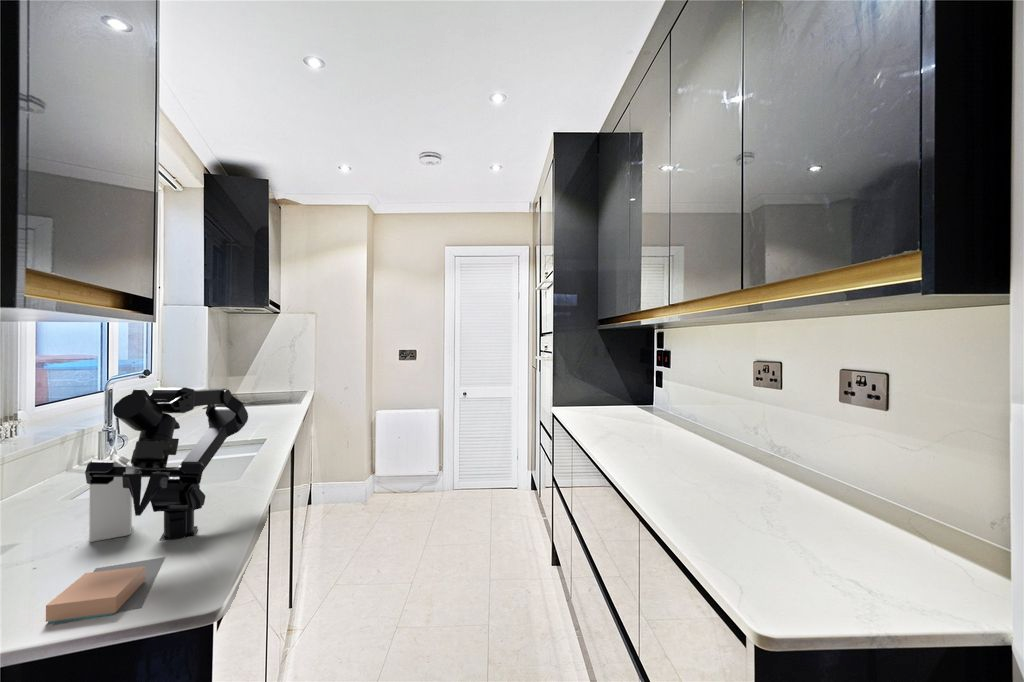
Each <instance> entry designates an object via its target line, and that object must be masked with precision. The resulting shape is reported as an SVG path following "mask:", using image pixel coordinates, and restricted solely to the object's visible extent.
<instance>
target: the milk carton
mask: <svg viewBox="0 0 1024 682" xmlns="http://www.w3.org/2000/svg"><path fill="white" fill-rule="evenodd" d="M114 452H115V450H114V448H112V449H111V451H110V454H109V455H108V456H107V457H106V458H104V460H115V464H116V467H126V466H132V464H131V458H130V457H128V456H126V455H124V454H121V455H120V456H119V455H118V454H115V453H114ZM132 508H133V498H132V495H131V493H130V490H129V488H123V482H122V477H114V480H113V481H112V482H110V483H109V484H89V517H88V518H89V519H88V520H89V522H88V524H89V529H88V532H89V533H88V535H89V537H88V539H89V540H88V541H89V543H92V542H97V541H105V540H110V539H114V538H120V537H125V536H129V535H131V532H132V525H133V523H132V520H133V519H132V518H133V509H132Z"/></svg>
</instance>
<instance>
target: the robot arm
mask: <svg viewBox="0 0 1024 682" xmlns="http://www.w3.org/2000/svg"><path fill="white" fill-rule="evenodd" d="M215 405H224V406H215ZM202 406H207V407H206V411H205V415H206V417H207V421H208V428H207V430H206V431H205V432H204V433H203V435H201V437H200V438H199V440H198V441H197V442H196V444H195V445H194V446H193V447H192V448H191V450H190V451H189V452H188V454H187V455H186V457H185V458H184V459H183V460H182V461H181V463H180V464H179V465H178V466H168V465H167V464H168V461H169V456H176V455H177V452H178V447H179V440H180V438H173V437H174V433H175V430H179V429H180V427H181V425H180V423H179V422H178V421H177V420H176V418H175V417H173V416H172V415H171V414H185V413H187V412H190V411H193V410H194V408H195V407H202ZM112 413H113V415H114V417H116V418H117V419H119V420H120V421H122V423H124V424H125V425H127V426H128V427H130V428H131V429H132V430H134V431H137V432H139V437H138V441H136V442H135V445H134V446H135V447H134V450H133V451H132V455H131V458H130V463H131V464H132V466H126V467H116V464H115V460H105V459H92V460H90V462H88V463H87V465H86V468H85V471H84V474H85V480H86V481H85V482H86V484H88V485H90V484H109V483H110V482H112V481H113V480H114V477H122V482H123V488H129V490H130V493H131V495H132V505H133V509H134V516H135V517H138V516H142V514H143V512H144V511H145V510H146V508H147V507H148V505H149V504H150V505H151V507H152V511H153V512H155V513H157V512H163V532H162V534H161V536H160V538H159V540H158V541H160V542H162V541H169V540H170V541H171V540H175V539H176V540H178V539H183V538H187V537H188V538H189V537H195V536H196V533H197V530H198V526H197V525H195V511H196V510H199V509H202V507H203V506H205V502H206V501H205V500H206V494H205V493H204V492H203V491H202V490H201V489H200V488H201V480H202V477H203V472H204V470H206V468H207V466H208V465H209V463H211V461H212V460H213V458H214V456H215V455H216V454H217V452H218V451H219V450H220V448H221V447H222V445H224V443H225V441H226V439H227V438H228V437H231V436H233V435H236V434H237V433H239V432H240V431H241V430H242V429H243V428H244V426H245V425H246V424H247V422H248V420H249V413H248V411H247V408H246V407H245V405H244V403H243V402H242V401H241V400H239V399H237V397H234V396H233V394H232V392H231V390H230V389H227V388H209V389H197V390H196V389H193V388H189V387H186V386H185V387H184V386H183V387H181V386H180V387H179V386H178V387H174V386H173V387H172V386H171V387H167V386H166V387H165V386H164V387H162V386H161V387H155V388H153V389H152V392H151V393H148V391H146V390H145V389H141V388H140V389H134V388H133V390H132V391H131V393H129V394H127V395H126V396H124V397H122V398H121V399H119V400H118V401H117V402H115V404H114V406H113V409H112ZM142 478H149V479H148V483H147V486H146V488H145V491H144V493H143V496H142V497H141V494H142ZM141 498H142V499H141Z"/></svg>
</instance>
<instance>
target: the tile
mask: <svg viewBox="0 0 1024 682" xmlns="http://www.w3.org/2000/svg"><path fill="white" fill-rule="evenodd" d="M145 578H146V566H144V567H135V568H126V569H117V570H108V571H99V572H93V571H91V572H85V573H83V575H81V576H80V577H79V578H77V579H76V580H75V581H74V582H73V583H71V584H70V585H69V586H68V587H66V588H65V589H64V590H63V591H61V592H60V593H59V594H58V595H56V597H55V598H53V599H52V600H51V601H50V602H49V603H47V604H46V605H45V622H47V624H54V623H55V622H62V621H70V620H77V619H83V620H86V619H85V618H89V619H93V618H92V617H94V618H98V617H106V616H114V614H116V613H115V612H116V611H117V610H118V609H119V608H120V607H121V606H122V605H123V604H124V603H125V602H126V601H127V600H128V598H129V597H130V596H131V595H132V594H133V593H134V592H135V591H136V590H137V589H138V588H139V587H140V585H141V584H142V583H143V582H144V581H145Z"/></svg>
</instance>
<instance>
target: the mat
mask: <svg viewBox="0 0 1024 682" xmlns="http://www.w3.org/2000/svg"><path fill="white" fill-rule="evenodd" d="M165 559H166V556H163V557H157V558H151V559H147V560H146V559H145V560H138V561H132V562H126V563H120V564H114V565H107V566H102V567H96V568H95V569H94V570H93V571H92V572H99V571H108V570H117V569H126V568H135V567H144V566H146V578H145V581H144V582H143V583H142V584H141V585H140V587H139V588H138V589H137V590H136V591H135V592H134V593H133V594H132V595H131V596H130V597H129V598H128V600H127V601H126V602H125V603H124V604H123V605H122V606H121V607H120V608H119V609H118V610H117V611H116V612H115V613H114V614H117V613H122V612H123V613H124V612H129V611H134V610H138V609H142V608H143V605H144V603H145V602H146V599H147V597H148V594H149V593H150V590H151V588H152V587H153V584H154V582H155V581H156V578H157V576H158V574H159V572H160V569H161V568H162V565H163V563H164V561H165ZM93 618H95V617H92V618H91V619H93ZM89 619H90V618H85V619H77V620H70V621H62V622H55V623H52V626H57V625H63V624H67V623H72V622H78V621H83V620H89Z"/></svg>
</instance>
